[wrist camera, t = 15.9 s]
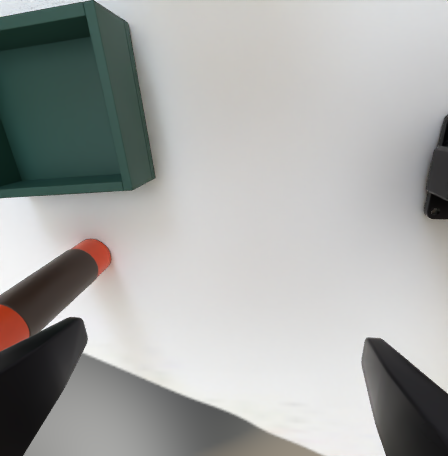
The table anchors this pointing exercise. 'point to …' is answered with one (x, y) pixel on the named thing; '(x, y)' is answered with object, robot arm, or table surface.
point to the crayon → (49, 291)
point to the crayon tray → (70, 104)
